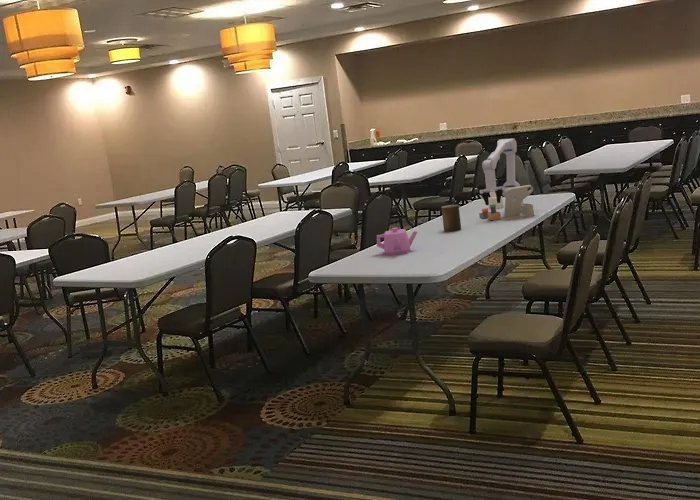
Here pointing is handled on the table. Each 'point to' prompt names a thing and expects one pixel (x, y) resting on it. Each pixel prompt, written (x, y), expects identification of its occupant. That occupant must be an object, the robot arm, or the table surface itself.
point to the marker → (493, 208)
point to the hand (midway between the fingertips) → (492, 204)
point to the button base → (483, 215)
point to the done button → (485, 210)
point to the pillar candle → (451, 218)
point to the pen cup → (494, 216)
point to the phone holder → (517, 203)
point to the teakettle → (396, 241)
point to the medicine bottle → (495, 200)
